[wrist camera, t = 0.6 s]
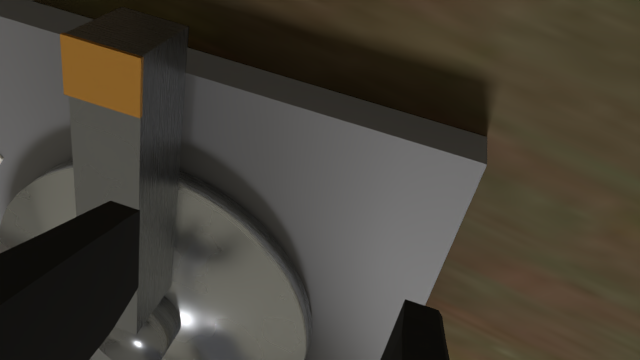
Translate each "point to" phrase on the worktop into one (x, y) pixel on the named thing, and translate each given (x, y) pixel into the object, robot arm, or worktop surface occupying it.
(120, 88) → the dial
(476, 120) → the worktop surface
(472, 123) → the worktop surface
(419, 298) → the dial plate
